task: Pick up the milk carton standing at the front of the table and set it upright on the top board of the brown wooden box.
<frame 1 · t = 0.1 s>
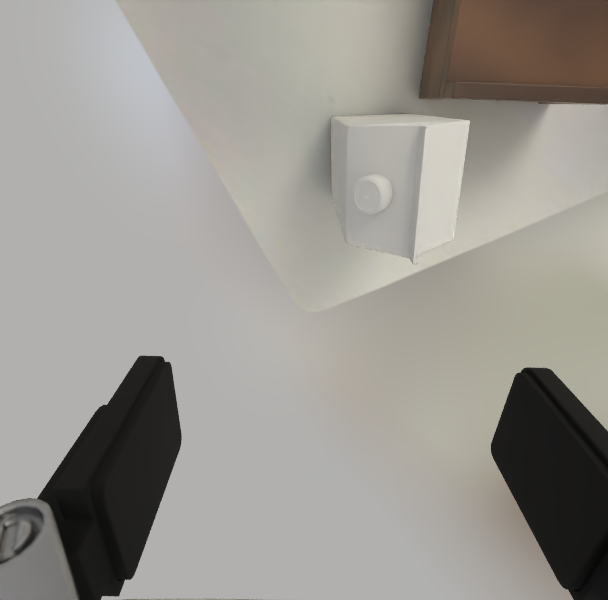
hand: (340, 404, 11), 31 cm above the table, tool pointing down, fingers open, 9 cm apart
brown wooden box: (505, 5, 32), on the table
milk carton: (367, 155, 37), on the table
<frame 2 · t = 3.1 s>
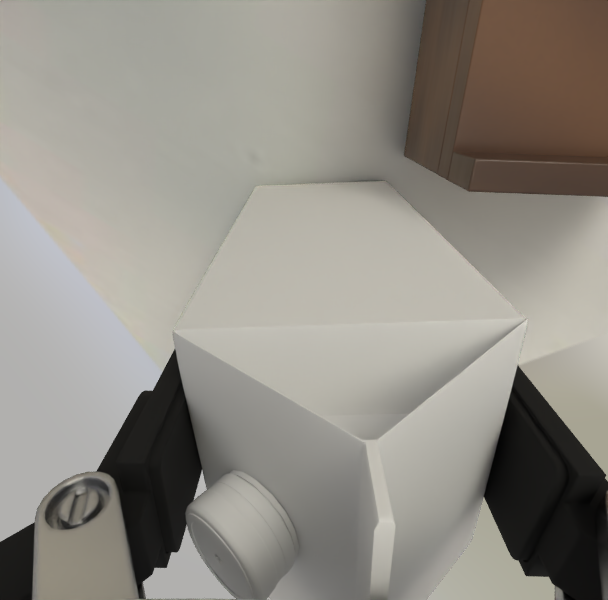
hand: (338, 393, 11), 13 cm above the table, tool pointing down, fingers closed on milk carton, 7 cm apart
milk carton: (321, 243, 23), on the table, touching gripper
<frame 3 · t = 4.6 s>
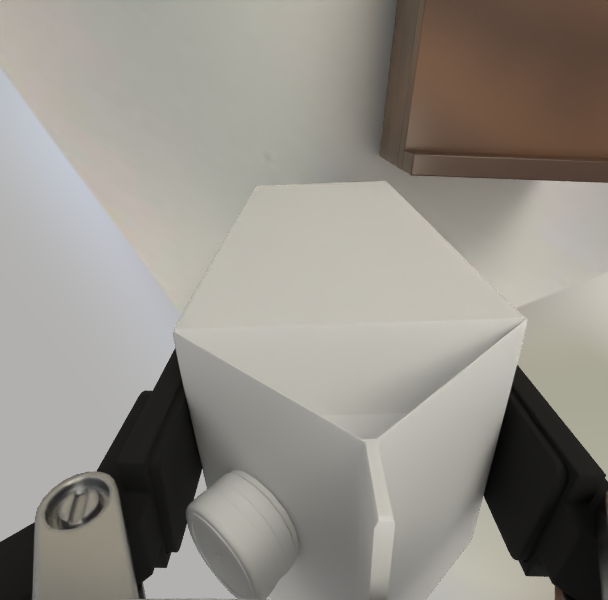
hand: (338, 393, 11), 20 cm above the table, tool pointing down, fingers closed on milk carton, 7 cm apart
brown wooden box: (488, 41, 24), on the table
milk carton: (321, 243, 23), point 7 cm above the table, touching gripper
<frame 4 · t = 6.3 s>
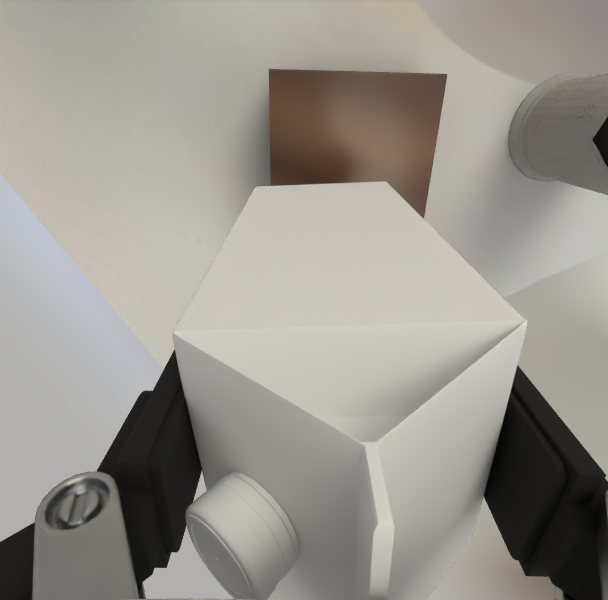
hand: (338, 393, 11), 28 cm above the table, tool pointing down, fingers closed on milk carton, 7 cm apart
brown wooden box: (342, 166, 35), on the table
milk carton: (321, 244, 23), point 15 cm above the table, touching gripper
glass holder: (582, 98, 33), on the table
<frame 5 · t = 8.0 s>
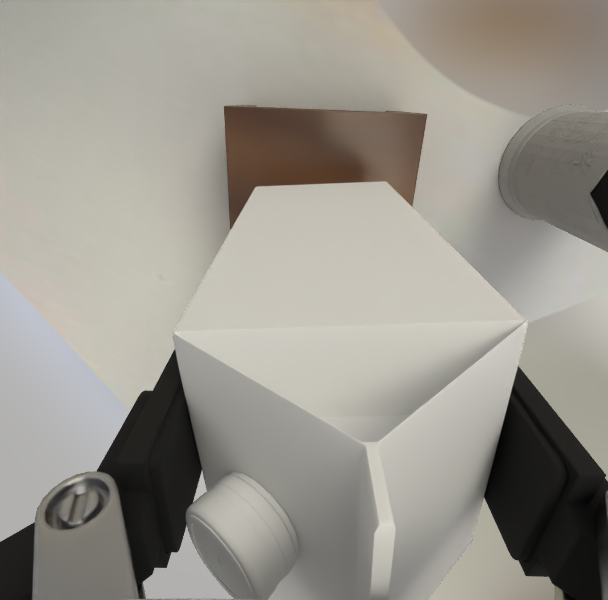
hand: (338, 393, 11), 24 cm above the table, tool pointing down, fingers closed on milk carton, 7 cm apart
brown wooden box: (316, 202, 32), on the table
milk carton: (321, 244, 23), point 11 cm above the table, touching gripper
glass holder: (579, 133, 30), on the table
when the fingers open (20 cm above the table, at t = 9.7 s): milk carton stays where it is, resting on brown wooden box.
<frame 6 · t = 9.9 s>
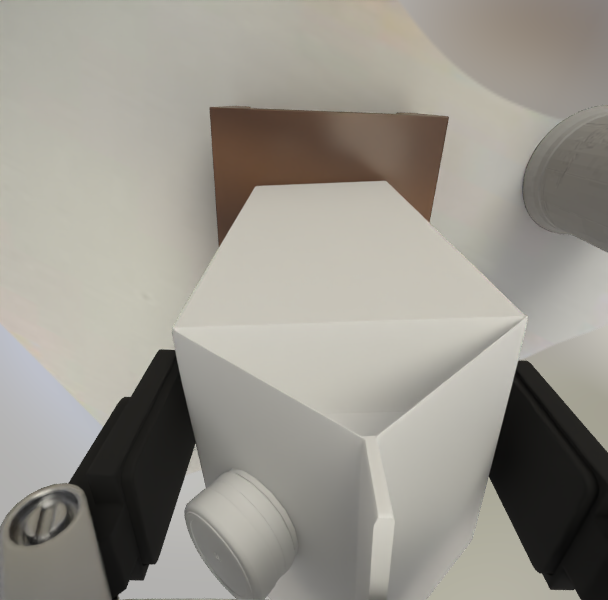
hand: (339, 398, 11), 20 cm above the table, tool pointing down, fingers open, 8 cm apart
brown wooden box: (318, 214, 29), on the table
milk carton: (321, 243, 23), point 7 cm above the table, touching brown wooden box
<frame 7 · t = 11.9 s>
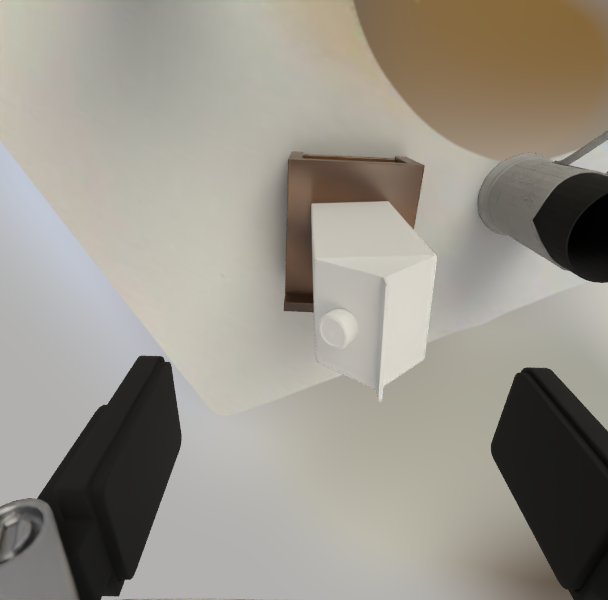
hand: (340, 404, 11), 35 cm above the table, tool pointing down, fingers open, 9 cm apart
brown wooden box: (343, 220, 43), on the table
milk carton: (348, 238, 37), point 7 cm above the table, touching brown wooden box
glass holder: (536, 172, 41), on the table
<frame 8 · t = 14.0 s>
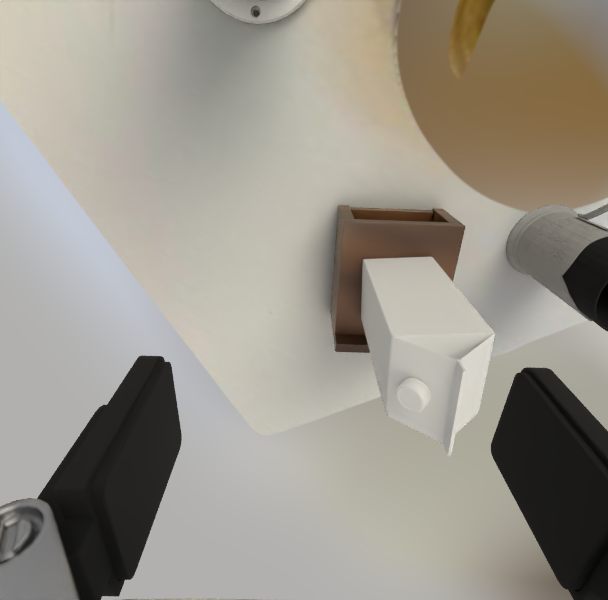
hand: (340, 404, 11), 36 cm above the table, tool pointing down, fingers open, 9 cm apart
brown wooden box: (383, 263, 48), on the table
milk carton: (394, 287, 42), point 7 cm above the table, touching brown wooden box
glass holder: (560, 221, 45), on the table
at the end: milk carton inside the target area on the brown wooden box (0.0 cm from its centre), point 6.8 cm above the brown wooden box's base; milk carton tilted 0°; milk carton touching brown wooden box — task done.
